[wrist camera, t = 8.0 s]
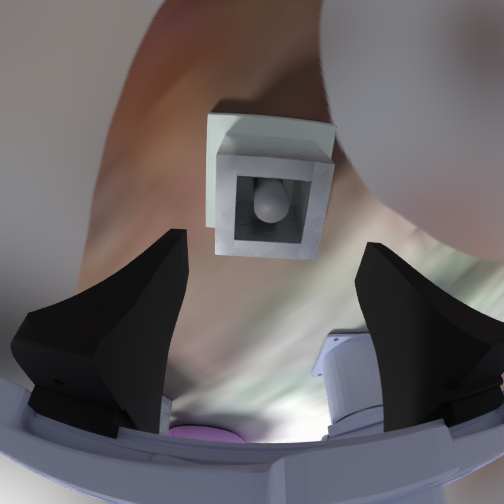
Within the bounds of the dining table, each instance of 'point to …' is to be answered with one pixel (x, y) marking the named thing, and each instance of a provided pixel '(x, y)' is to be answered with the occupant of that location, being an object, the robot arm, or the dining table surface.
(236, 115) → the post stand
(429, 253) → the dining table surface
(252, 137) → the steel collar
